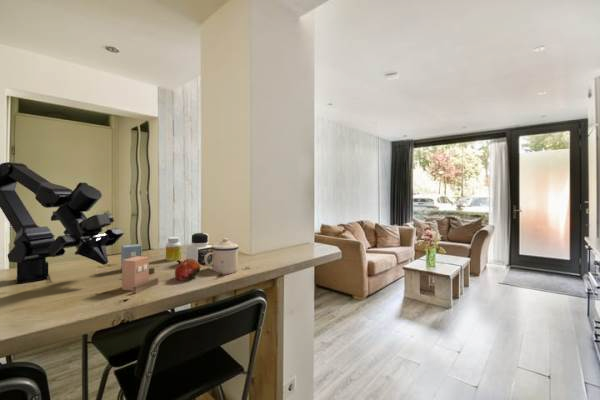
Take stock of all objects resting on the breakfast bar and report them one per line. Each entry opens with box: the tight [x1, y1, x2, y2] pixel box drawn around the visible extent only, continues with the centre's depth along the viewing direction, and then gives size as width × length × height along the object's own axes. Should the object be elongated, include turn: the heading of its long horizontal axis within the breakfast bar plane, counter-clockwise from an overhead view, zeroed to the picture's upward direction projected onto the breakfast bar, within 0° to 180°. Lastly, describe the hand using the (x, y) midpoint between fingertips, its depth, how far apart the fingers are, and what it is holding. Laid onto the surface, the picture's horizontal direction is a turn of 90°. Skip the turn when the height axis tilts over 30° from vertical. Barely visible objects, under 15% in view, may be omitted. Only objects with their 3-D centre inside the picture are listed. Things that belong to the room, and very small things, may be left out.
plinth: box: [132, 277, 159, 294], centre depth 77 cm, size 11×8×3 cm
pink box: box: [121, 255, 150, 292], centre depth 77 cm, size 4×5×8 cm
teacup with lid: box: [204, 237, 239, 275], centre depth 97 cm, size 12×9×12 cm
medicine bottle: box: [185, 232, 213, 267], centre depth 106 cm, size 7×7×12 cm
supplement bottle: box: [165, 236, 182, 262], centre depth 109 cm, size 5×5×10 cm
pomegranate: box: [174, 259, 202, 282], centre depth 86 cm, size 7×7×10 cm
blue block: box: [120, 243, 142, 271], centre depth 94 cm, size 4×5×8 cm
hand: (106, 263), depth 79 cm, fingers closed
